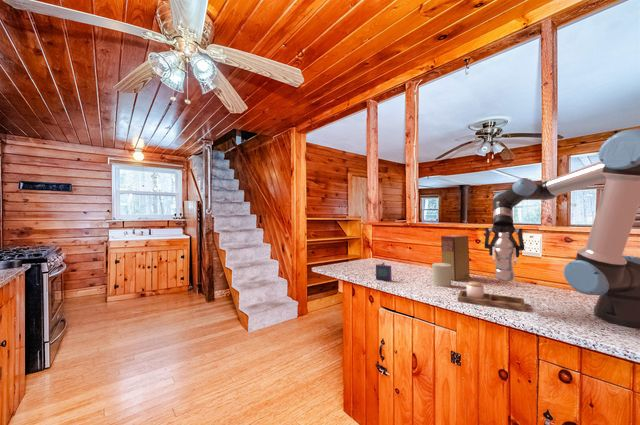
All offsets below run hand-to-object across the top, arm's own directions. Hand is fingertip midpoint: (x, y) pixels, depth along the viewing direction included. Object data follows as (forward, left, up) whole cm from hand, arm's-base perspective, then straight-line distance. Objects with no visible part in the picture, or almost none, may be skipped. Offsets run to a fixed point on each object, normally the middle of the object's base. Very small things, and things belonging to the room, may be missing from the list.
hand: (504, 262), depth 106 cm
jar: (+11, -3, -18) cm, 21 cm away
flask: (+58, -20, -19) cm, 64 cm away
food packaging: (+23, -45, -19) cm, 54 cm away
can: (+27, -23, -19) cm, 40 cm away
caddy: (+5, -3, -19) cm, 20 cm away
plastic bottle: (0, -4, -9) cm, 9 cm away
